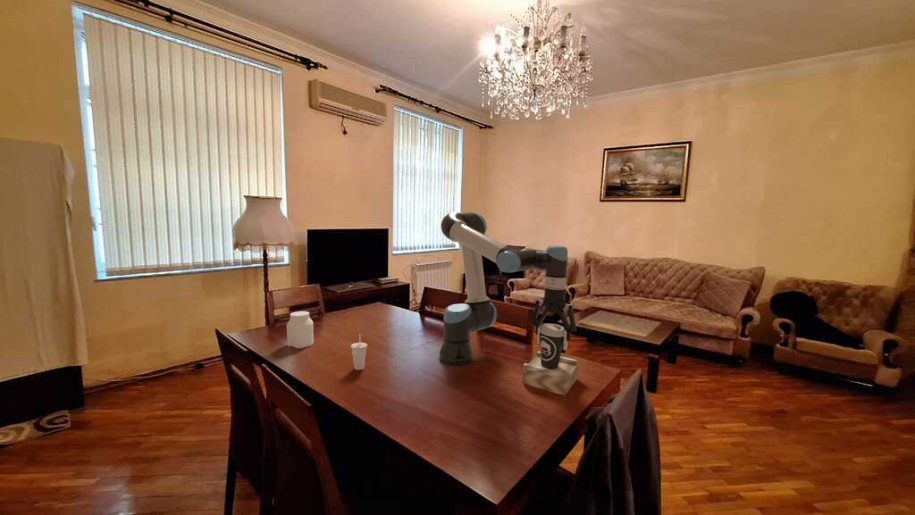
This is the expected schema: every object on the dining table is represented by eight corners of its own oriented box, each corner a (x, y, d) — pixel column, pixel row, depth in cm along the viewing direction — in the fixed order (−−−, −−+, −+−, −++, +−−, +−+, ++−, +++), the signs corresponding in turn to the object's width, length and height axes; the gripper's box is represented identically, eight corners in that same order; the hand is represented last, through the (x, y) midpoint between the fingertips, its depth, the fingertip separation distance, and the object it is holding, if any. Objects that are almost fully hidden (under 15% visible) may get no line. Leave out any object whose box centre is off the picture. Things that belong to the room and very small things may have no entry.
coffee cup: (563, 372, 127) (567, 332, 125) (536, 368, 129) (540, 329, 127) (561, 361, 136) (565, 324, 134) (536, 357, 138) (539, 321, 136)
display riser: (522, 383, 131) (523, 364, 130) (537, 368, 144) (538, 351, 143) (565, 395, 122) (566, 375, 121) (577, 378, 135) (578, 360, 135)
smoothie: (370, 366, 143) (370, 333, 141) (360, 372, 137) (359, 338, 135) (358, 363, 145) (358, 331, 144) (347, 369, 140) (347, 335, 138)
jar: (317, 343, 167) (316, 313, 166) (299, 349, 159) (298, 317, 157) (301, 338, 173) (300, 309, 171) (283, 344, 165) (282, 314, 163)
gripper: (523, 285, 132) (521, 342, 134) (583, 293, 120) (579, 355, 122) (530, 282, 138) (528, 337, 141) (588, 289, 126) (584, 349, 129)
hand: (552, 345), depth 131 cm, fingers closed on coffee cup, 9 cm apart
